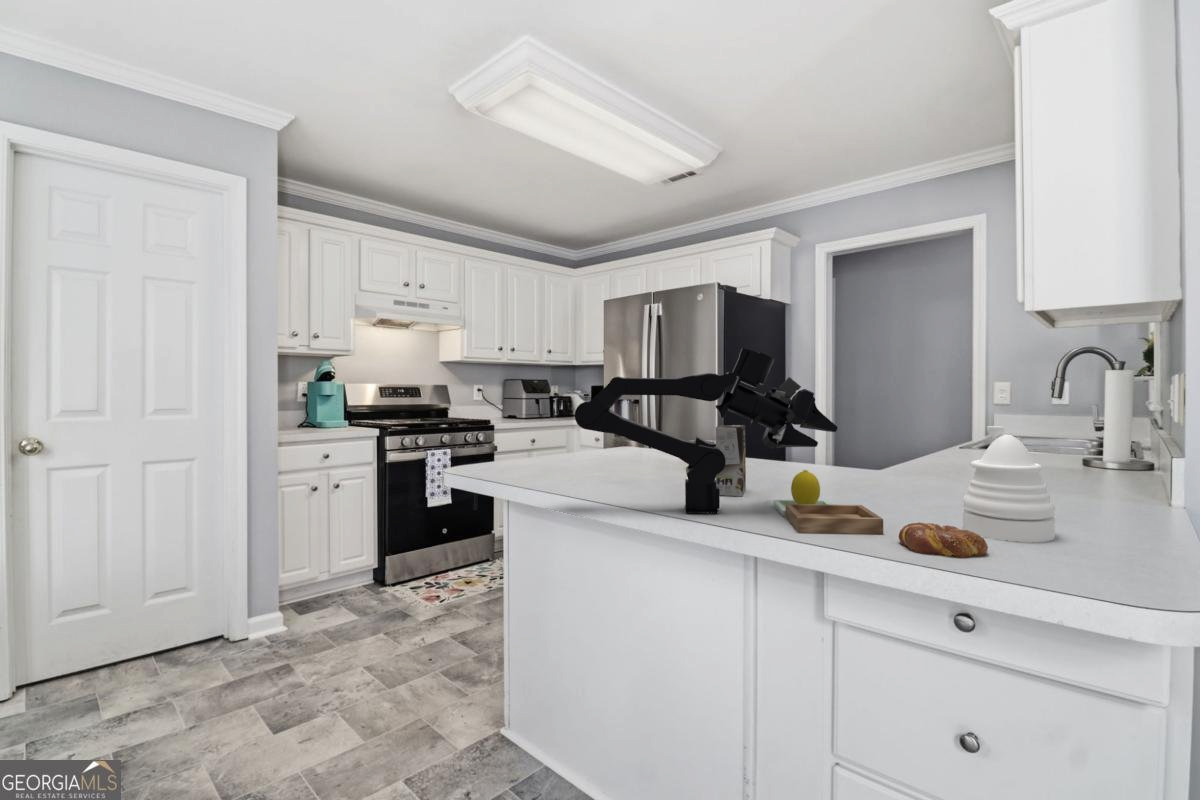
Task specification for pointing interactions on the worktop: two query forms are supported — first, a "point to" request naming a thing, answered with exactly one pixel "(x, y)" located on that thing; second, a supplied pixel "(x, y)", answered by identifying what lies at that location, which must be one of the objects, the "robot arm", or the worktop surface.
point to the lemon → (805, 488)
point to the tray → (833, 519)
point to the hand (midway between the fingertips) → (826, 437)
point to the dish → (781, 504)
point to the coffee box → (732, 460)
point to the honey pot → (1008, 494)
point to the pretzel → (942, 540)
